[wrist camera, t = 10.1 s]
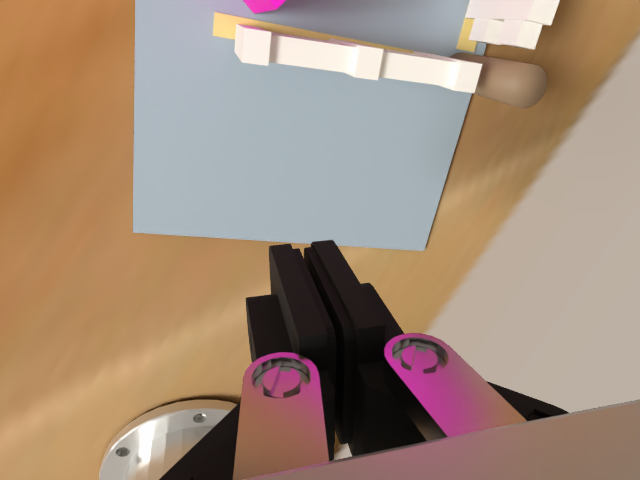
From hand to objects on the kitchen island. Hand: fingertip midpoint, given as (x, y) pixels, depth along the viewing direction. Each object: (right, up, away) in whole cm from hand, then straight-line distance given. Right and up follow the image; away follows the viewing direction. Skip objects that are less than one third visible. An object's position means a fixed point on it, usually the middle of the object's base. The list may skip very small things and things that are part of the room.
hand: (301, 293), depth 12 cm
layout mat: (0, +9, +12) cm, 15 cm away
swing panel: (+1, +11, +11) cm, 15 cm away
